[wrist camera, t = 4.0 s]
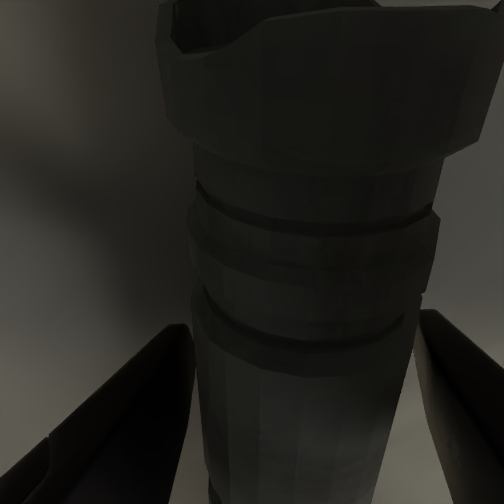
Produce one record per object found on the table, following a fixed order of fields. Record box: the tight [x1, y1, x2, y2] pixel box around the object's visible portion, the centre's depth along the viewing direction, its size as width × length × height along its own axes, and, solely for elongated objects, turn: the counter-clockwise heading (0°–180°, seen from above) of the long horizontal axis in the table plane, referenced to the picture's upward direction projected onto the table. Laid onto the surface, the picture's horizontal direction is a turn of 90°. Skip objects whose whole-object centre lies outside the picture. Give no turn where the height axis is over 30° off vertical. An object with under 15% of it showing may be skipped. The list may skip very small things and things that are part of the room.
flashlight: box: [155, 0, 504, 504], centre depth 11 cm, size 5×21×5 cm, turn 0°
